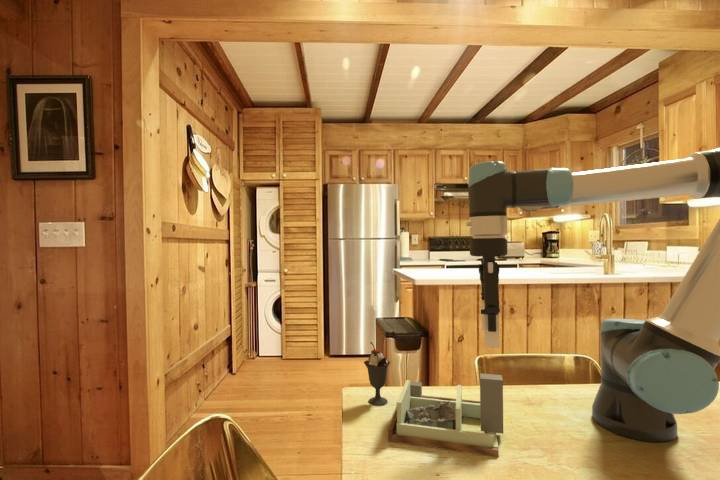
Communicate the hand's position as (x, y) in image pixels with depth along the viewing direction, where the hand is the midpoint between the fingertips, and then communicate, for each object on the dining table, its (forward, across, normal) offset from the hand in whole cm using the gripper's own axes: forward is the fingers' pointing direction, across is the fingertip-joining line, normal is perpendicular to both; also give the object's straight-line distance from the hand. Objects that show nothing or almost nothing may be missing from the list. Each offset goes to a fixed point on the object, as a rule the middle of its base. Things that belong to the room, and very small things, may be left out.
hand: (490, 338), depth 79 cm
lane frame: (+20, -3, -10) cm, 23 cm away
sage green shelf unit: (+20, 0, -8) cm, 22 cm away
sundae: (+20, -10, -27) cm, 35 cm away
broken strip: (+20, -10, -12) cm, 26 cm away
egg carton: (+20, 0, -13) cm, 24 cm away
